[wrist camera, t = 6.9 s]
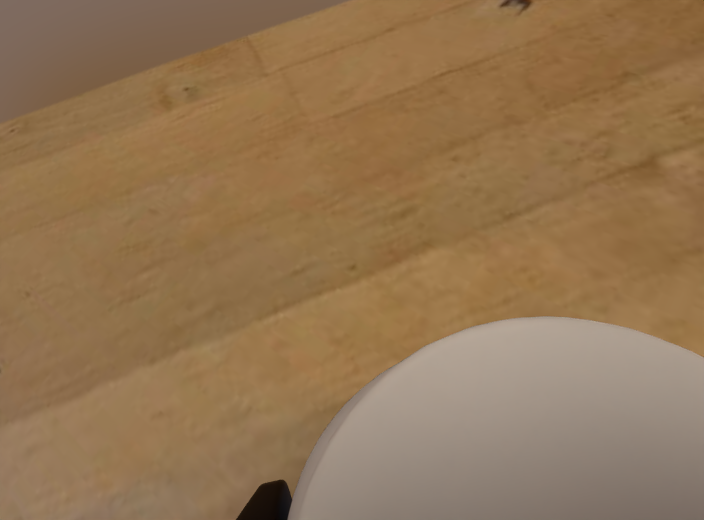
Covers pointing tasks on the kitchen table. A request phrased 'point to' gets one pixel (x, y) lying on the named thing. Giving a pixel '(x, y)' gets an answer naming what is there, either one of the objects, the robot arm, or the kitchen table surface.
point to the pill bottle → (518, 430)
